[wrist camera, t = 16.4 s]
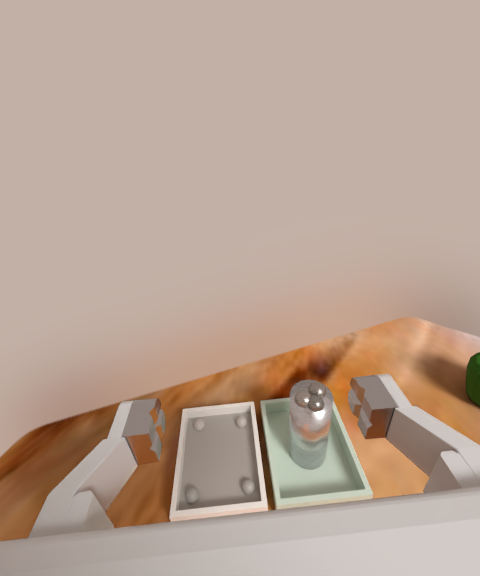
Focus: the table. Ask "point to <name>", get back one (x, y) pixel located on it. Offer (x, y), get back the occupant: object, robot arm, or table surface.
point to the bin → (319, 482)
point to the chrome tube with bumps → (309, 423)
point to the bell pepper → (473, 378)
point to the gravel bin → (218, 463)
